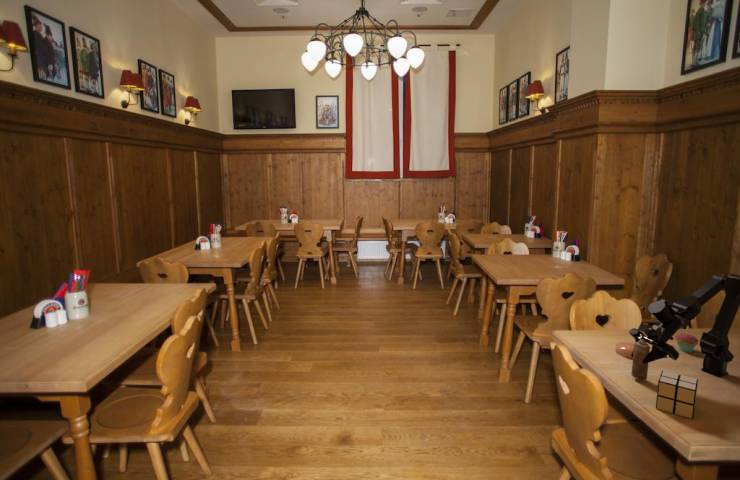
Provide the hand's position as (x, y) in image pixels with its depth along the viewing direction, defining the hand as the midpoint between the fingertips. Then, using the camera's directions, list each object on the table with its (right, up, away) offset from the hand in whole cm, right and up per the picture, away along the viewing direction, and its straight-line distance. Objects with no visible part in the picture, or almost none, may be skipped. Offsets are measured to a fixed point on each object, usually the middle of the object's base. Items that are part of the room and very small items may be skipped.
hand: (637, 359), depth 162 cm
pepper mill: (+1, -6, +1) cm, 7 cm away
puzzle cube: (+2, -11, -18) cm, 21 cm away
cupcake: (+38, -3, +28) cm, 48 cm away
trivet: (+12, -4, +25) cm, 28 cm away
